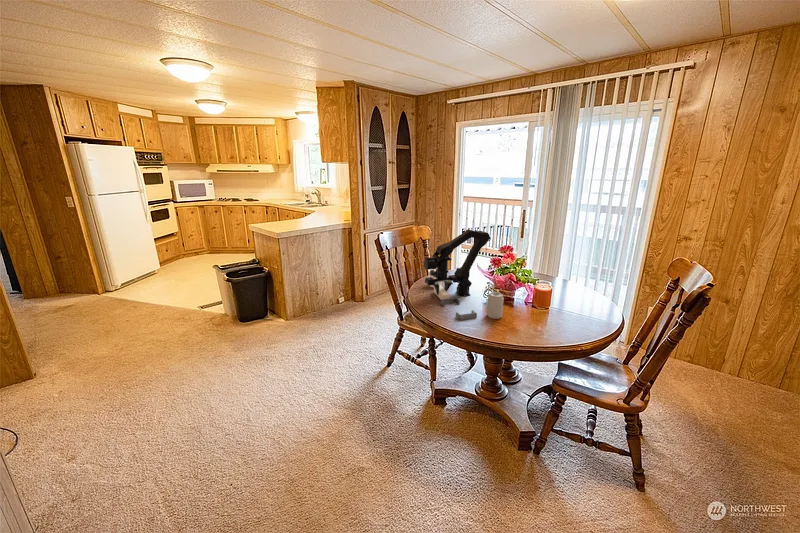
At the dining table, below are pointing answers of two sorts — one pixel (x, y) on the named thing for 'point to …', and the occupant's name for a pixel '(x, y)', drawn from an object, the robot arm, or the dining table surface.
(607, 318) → the dining table surface
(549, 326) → the dining table surface
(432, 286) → the cup
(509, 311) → the dining table surface
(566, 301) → the dining table surface
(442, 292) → the beige wooden bar
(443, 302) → the end caps
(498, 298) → the can
